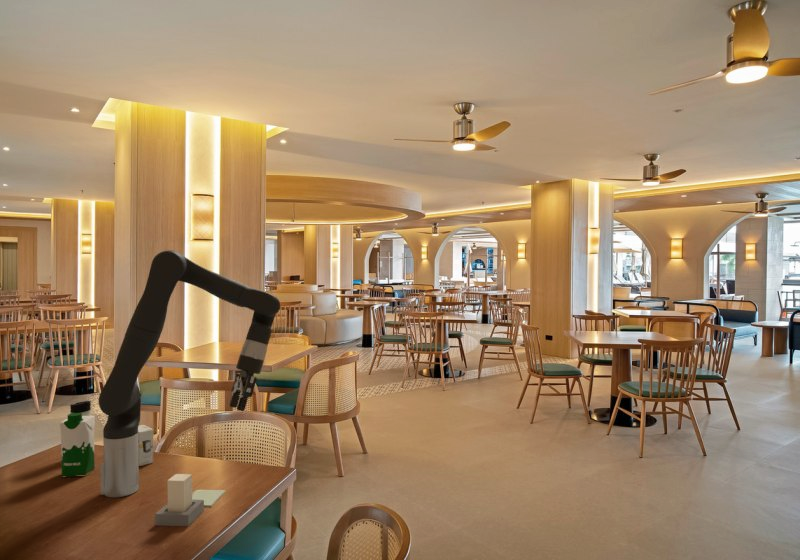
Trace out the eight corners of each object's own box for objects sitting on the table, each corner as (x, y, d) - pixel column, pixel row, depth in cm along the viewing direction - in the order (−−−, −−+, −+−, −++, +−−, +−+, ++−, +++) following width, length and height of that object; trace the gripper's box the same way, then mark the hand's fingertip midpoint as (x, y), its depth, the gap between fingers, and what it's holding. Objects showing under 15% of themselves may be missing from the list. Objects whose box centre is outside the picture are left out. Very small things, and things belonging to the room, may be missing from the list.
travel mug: (82, 460, 183) (81, 404, 183) (66, 459, 185) (65, 403, 184) (96, 454, 189) (95, 399, 189) (80, 453, 191) (80, 398, 190)
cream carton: (167, 521, 139) (167, 480, 138) (176, 513, 143) (176, 473, 143) (184, 522, 138) (183, 480, 138) (192, 514, 143) (191, 474, 143)
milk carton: (57, 479, 167) (56, 416, 167) (71, 468, 176) (70, 409, 176) (86, 477, 168) (85, 415, 168) (98, 467, 177) (98, 408, 177)
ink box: (128, 461, 183) (127, 427, 183) (143, 457, 187) (142, 424, 187) (139, 467, 177) (138, 432, 177) (154, 462, 181) (153, 428, 181)
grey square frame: (155, 525, 137) (155, 513, 137) (172, 509, 146) (172, 498, 146) (188, 526, 136) (188, 515, 136) (203, 510, 145) (203, 499, 145)
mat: (180, 505, 148) (180, 504, 148) (196, 490, 158) (196, 489, 158) (211, 506, 147) (211, 505, 147) (225, 491, 157) (225, 490, 157)
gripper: (234, 353, 167) (218, 403, 163) (247, 354, 155) (230, 409, 151) (256, 359, 170) (241, 408, 166) (271, 360, 158) (255, 414, 154)
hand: (236, 408), depth 159 cm, fingers open, 8 cm apart
